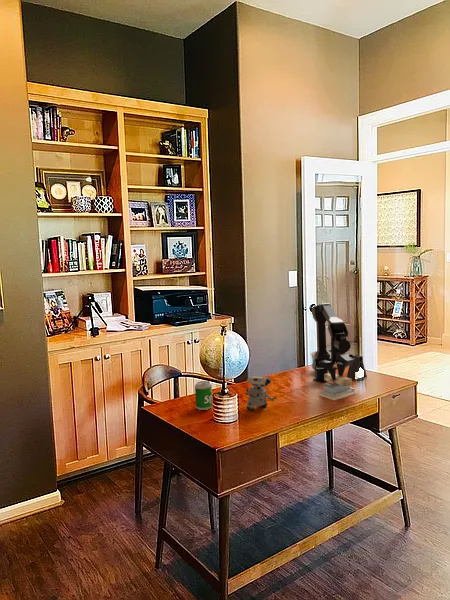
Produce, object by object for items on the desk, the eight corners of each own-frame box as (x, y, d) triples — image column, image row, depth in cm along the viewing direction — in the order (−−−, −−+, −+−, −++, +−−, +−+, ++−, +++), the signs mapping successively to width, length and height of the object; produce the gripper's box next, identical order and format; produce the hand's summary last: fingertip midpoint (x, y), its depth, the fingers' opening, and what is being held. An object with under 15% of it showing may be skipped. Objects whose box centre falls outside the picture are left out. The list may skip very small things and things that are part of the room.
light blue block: (342, 388, 241) (342, 378, 241) (349, 391, 237) (349, 381, 237) (324, 393, 235) (324, 383, 234) (332, 396, 231) (331, 385, 230)
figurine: (262, 415, 212) (261, 381, 211) (244, 409, 221) (243, 376, 219) (276, 409, 218) (276, 377, 216) (258, 404, 227) (257, 372, 225)
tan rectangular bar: (324, 380, 240) (324, 374, 240) (330, 378, 242) (330, 372, 242) (345, 386, 228) (345, 380, 228) (351, 385, 230) (351, 378, 230)
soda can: (200, 412, 219) (198, 386, 217) (193, 407, 225) (192, 382, 224) (215, 409, 222) (214, 383, 220) (208, 404, 229) (207, 379, 227)
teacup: (323, 376, 268) (323, 358, 267) (306, 370, 281) (305, 353, 280) (340, 372, 274) (340, 354, 273) (322, 366, 287) (322, 350, 286)
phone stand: (358, 374, 268) (357, 353, 267) (366, 377, 263) (366, 355, 262) (346, 377, 264) (346, 355, 262) (355, 380, 259) (355, 357, 257)
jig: (333, 400, 228) (333, 395, 228) (318, 395, 236) (318, 390, 236) (356, 393, 236) (356, 388, 236) (340, 389, 244) (340, 384, 244)
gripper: (335, 353, 222) (335, 387, 224) (363, 347, 232) (363, 379, 234) (317, 349, 231) (318, 382, 233) (345, 343, 241) (346, 374, 243)
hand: (337, 379), depth 235 cm, fingers closed on tan rectangular bar, 4 cm apart
